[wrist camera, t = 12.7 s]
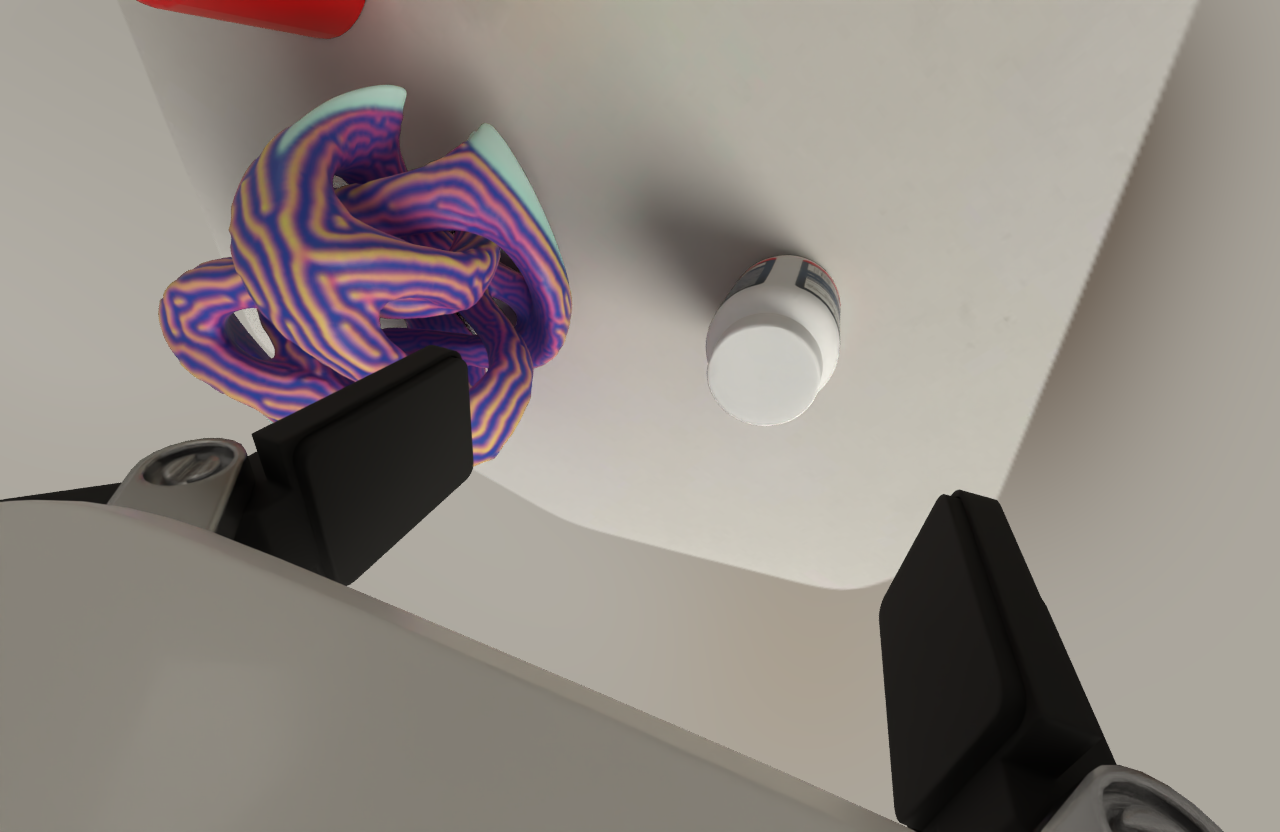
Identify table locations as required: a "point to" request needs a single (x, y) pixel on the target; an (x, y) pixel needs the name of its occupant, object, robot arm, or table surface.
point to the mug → (274, 14)
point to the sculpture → (375, 269)
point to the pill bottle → (774, 341)
